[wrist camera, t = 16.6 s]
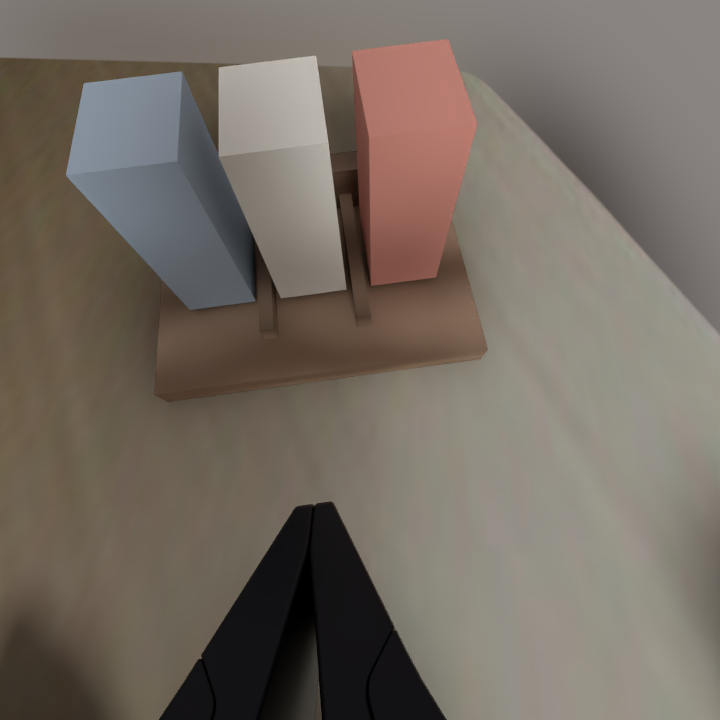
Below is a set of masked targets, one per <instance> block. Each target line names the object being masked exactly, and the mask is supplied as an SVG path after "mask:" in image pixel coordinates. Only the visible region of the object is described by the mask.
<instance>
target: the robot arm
mask: <svg viewBox="0 0 720 720" xmlns="http://www.w3.org/2000/svg"><path fill="white" fill-rule="evenodd" d="M201 657H202V659H198V661H197V662H196V664H195V665H194V667H193V669H192V670H191V672H190V673H189V675H188V676H187V678H186V680H185V681H184V683H183V684H182V686H181V687H180V689H179V690H178V692H177V693H176V695H175V696H174V698H173V699H172V701H171V702H170V704H169V705H168V707H167V708H166V710H165V711H164V713H163V714H162V716H161V717H160V718H159V720H315V716H316V703H317V691H318V678H319V685H320V699H321V712H322V720H447V719H446V718H445V716H444V715H443V713H442V712H441V710H440V708H439V707H438V705H437V703H436V702H435V700H434V698H433V697H432V695H431V694H430V692H429V690H428V689H427V687H426V685H425V684H424V682H423V680H422V679H421V677H420V675H419V673H418V671H417V669H416V667H415V666H414V664H413V662H412V660H411V658H410V656H409V654H408V652H407V651H406V649H405V647H404V645H403V643H402V641H401V639H400V637H399V634H398V632H397V631H396V630H395V627H394V625H393V623H392V621H391V619H390V617H389V615H388V613H387V611H386V609H385V606H384V604H383V602H382V600H381V598H380V596H379V594H378V592H377V590H376V588H375V586H374V584H373V582H372V580H371V578H370V576H369V574H368V572H367V570H366V568H365V566H364V564H363V562H362V560H361V558H360V556H359V554H358V552H357V550H356V548H355V546H354V544H353V541H352V539H351V537H350V535H349V533H348V531H347V529H346V527H345V525H344V523H343V521H342V519H341V517H340V515H339V513H338V511H337V509H336V507H335V505H334V503H333V502H324V503H317V504H316V505H315V506H314V505H312V504H309V505H302V506H297V507H296V508H295V509H294V510H293V512H292V513H291V515H290V516H289V518H288V520H287V521H286V523H285V524H284V526H283V527H282V529H281V531H280V532H279V534H278V535H277V537H276V538H275V540H274V542H273V543H272V545H271V546H270V548H269V549H268V551H267V553H266V554H265V556H264V557H263V559H262V560H261V562H260V564H259V565H258V567H257V568H256V570H255V571H254V573H253V575H252V576H251V578H250V579H249V581H248V582H247V584H246V586H245V587H244V589H243V590H242V592H241V593H240V595H239V597H238V598H237V600H236V601H235V603H234V604H233V606H232V608H231V609H230V611H229V612H228V614H227V615H226V617H225V619H224V620H223V622H222V623H221V625H220V626H219V628H218V630H217V631H216V633H215V634H214V636H213V637H212V639H211V641H210V642H209V644H208V645H207V647H206V648H205V650H204V652H203V653H202V655H201Z"/></svg>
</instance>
